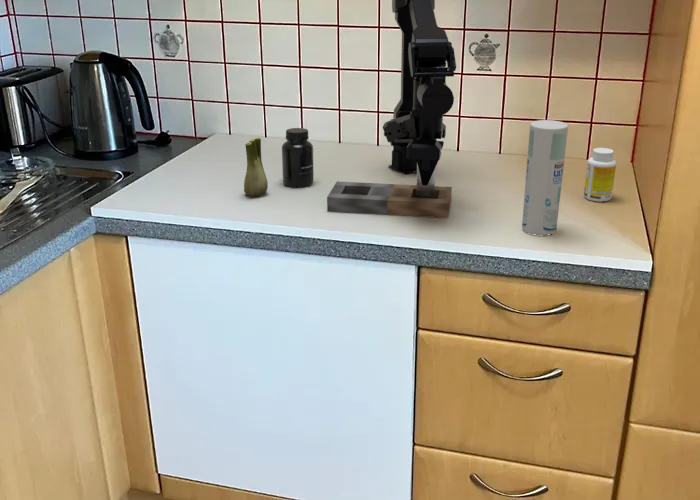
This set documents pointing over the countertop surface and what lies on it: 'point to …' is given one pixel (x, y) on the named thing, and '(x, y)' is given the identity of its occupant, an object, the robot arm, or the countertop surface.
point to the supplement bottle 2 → (600, 175)
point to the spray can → (544, 176)
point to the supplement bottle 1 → (297, 159)
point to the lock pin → (425, 187)
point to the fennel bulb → (254, 170)
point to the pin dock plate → (388, 200)
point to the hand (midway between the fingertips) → (425, 181)
